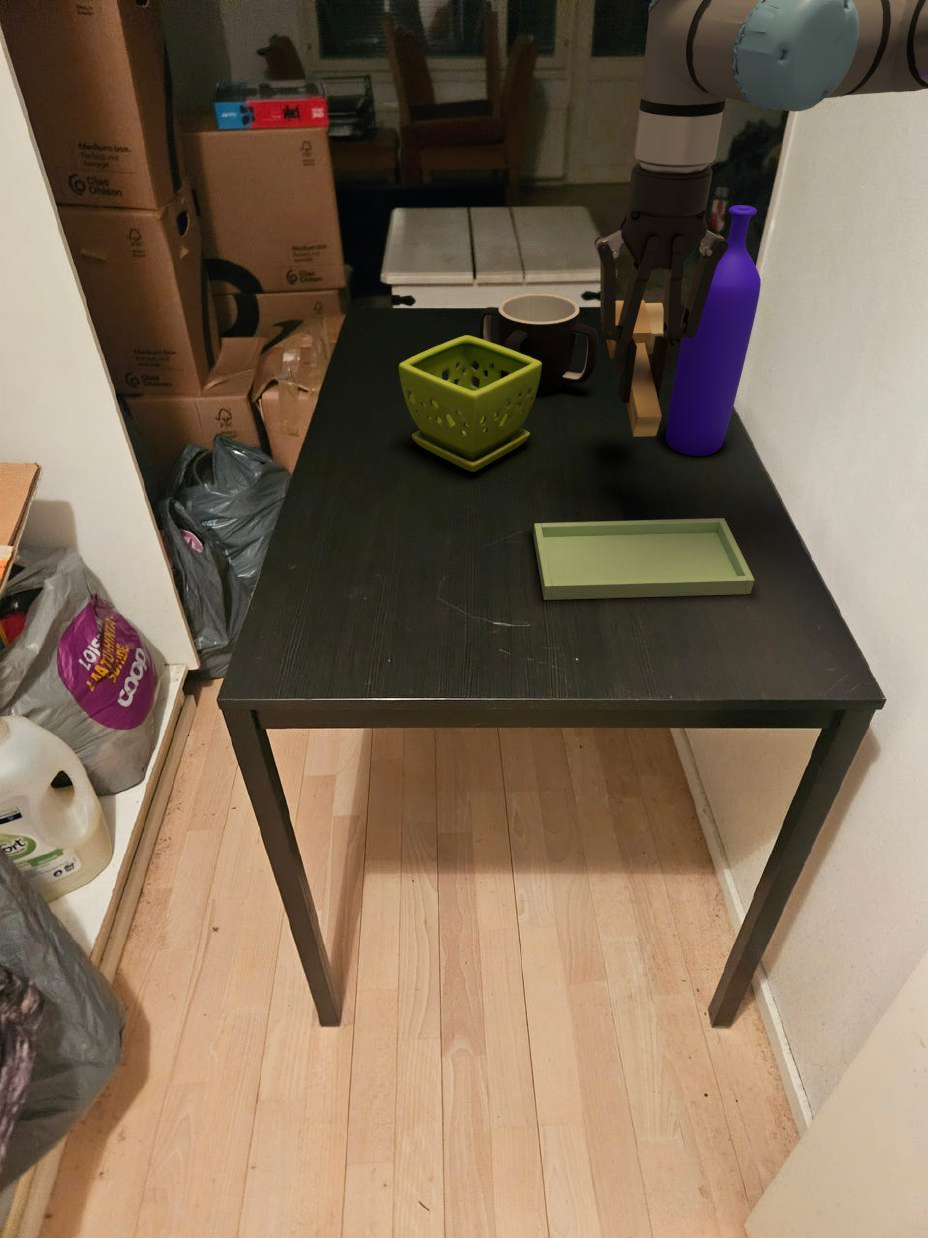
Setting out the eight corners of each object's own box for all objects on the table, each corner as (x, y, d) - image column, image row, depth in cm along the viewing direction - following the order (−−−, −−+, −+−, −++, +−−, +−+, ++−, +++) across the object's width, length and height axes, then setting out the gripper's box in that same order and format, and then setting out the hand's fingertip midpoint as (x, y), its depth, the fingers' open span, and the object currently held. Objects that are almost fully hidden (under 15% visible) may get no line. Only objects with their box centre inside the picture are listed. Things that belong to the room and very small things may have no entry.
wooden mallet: (683, 435, 85) (691, 411, 82) (624, 437, 85) (630, 412, 82) (656, 324, 95) (662, 299, 92) (603, 325, 95) (607, 300, 92)
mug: (597, 402, 117) (606, 324, 109) (494, 411, 115) (496, 332, 107) (570, 358, 129) (576, 284, 121) (476, 365, 127) (476, 291, 119)
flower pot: (473, 486, 100) (473, 395, 91) (400, 450, 107) (393, 363, 98) (541, 446, 107) (546, 358, 99) (468, 415, 114) (467, 330, 106)
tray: (720, 531, 92) (724, 517, 90) (750, 594, 83) (755, 580, 82) (533, 536, 91) (534, 523, 90) (543, 600, 83) (544, 586, 81)
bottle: (698, 423, 112) (747, 194, 91) (736, 449, 106) (797, 212, 86) (651, 435, 109) (691, 203, 89) (687, 463, 103) (738, 221, 83)
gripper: (743, 152, 75) (697, 380, 91) (584, 156, 75) (565, 384, 90) (768, 170, 69) (714, 410, 85) (596, 174, 69) (574, 414, 85)
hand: (638, 396), depth 88 cm, fingers closed on wooden mallet, 3 cm apart
